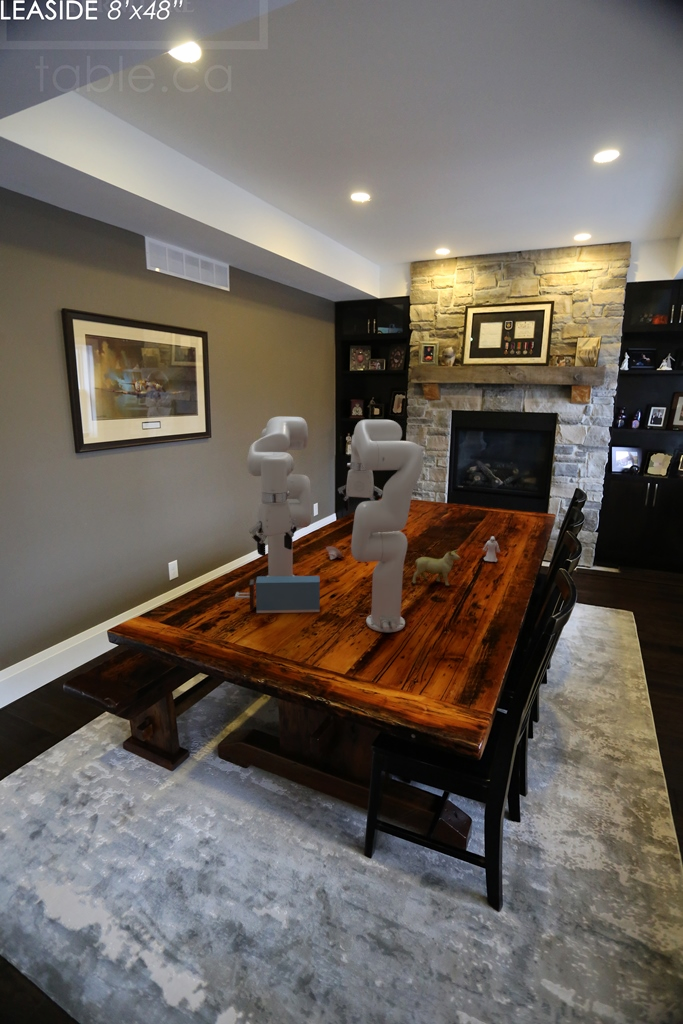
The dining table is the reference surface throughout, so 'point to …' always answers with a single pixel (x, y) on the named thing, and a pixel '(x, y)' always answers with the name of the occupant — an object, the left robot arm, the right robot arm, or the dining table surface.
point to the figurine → (491, 550)
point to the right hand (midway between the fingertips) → (359, 510)
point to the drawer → (252, 594)
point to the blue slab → (287, 594)
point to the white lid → (333, 552)
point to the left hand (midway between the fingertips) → (275, 551)
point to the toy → (435, 566)
